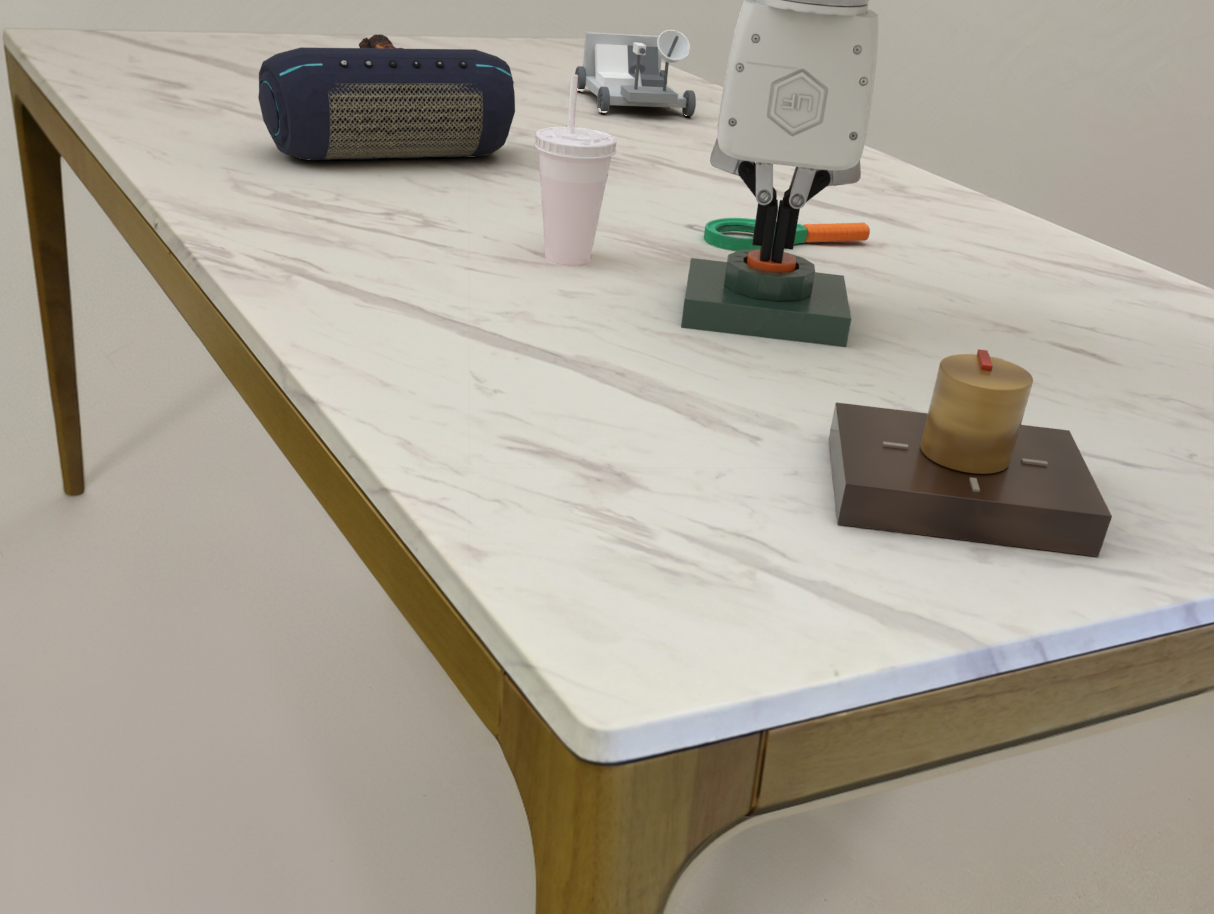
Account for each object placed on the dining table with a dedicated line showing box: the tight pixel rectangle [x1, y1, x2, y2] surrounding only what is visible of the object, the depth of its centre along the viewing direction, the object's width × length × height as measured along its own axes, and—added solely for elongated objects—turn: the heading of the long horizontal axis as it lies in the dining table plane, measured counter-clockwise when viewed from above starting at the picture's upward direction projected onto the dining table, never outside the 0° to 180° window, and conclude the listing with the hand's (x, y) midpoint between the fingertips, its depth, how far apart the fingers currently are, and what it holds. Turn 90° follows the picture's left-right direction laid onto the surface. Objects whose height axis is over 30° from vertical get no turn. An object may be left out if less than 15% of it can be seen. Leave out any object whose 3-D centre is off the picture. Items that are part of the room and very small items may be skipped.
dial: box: [920, 349, 1034, 474], centre depth 70 cm, size 5×5×5 cm
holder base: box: [828, 402, 1113, 558], centre depth 72 cm, size 14×11×3 cm
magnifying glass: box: [703, 217, 871, 252], centre depth 112 cm, size 15×6×2 cm, turn 105°
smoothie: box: [534, 73, 617, 267], centre depth 99 cm, size 6×6×14 cm
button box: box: [680, 249, 852, 348], centre depth 95 cm, size 12×10×4 cm
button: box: [747, 250, 796, 273], centre depth 94 cm, size 4×4×2 cm
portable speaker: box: [257, 47, 516, 161], centre depth 123 cm, size 25×10×10 cm, turn 115°
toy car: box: [574, 29, 697, 117], centre depth 154 cm, size 18×10×12 cm
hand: (770, 256), depth 93 cm, fingers closed
